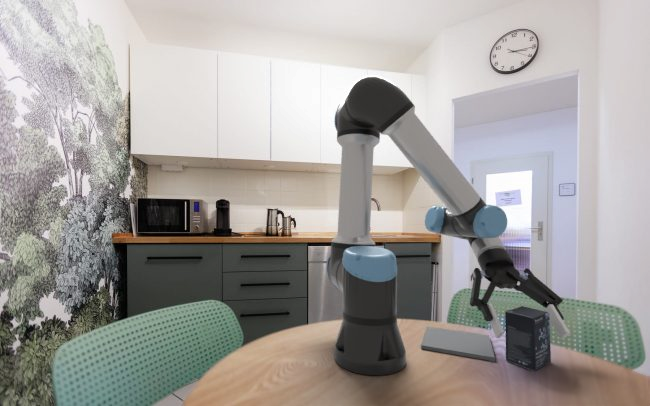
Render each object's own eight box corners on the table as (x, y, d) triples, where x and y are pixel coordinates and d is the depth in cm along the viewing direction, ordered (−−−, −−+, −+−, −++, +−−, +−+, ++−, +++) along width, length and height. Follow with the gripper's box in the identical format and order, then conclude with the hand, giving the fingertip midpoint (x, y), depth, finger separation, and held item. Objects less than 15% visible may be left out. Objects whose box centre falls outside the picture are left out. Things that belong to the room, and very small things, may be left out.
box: (535, 372, 59) (533, 317, 59) (505, 361, 63) (503, 310, 64) (552, 362, 63) (550, 311, 64) (522, 352, 68) (521, 305, 68)
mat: (421, 348, 69) (421, 345, 69) (427, 329, 82) (426, 326, 82) (495, 361, 63) (494, 357, 63) (489, 338, 76) (488, 335, 76)
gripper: (532, 264, 81) (582, 344, 65) (440, 264, 82) (467, 342, 66) (546, 246, 76) (603, 327, 60) (448, 246, 77) (479, 326, 61)
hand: (532, 335), depth 63 cm, fingers open, 13 cm apart
